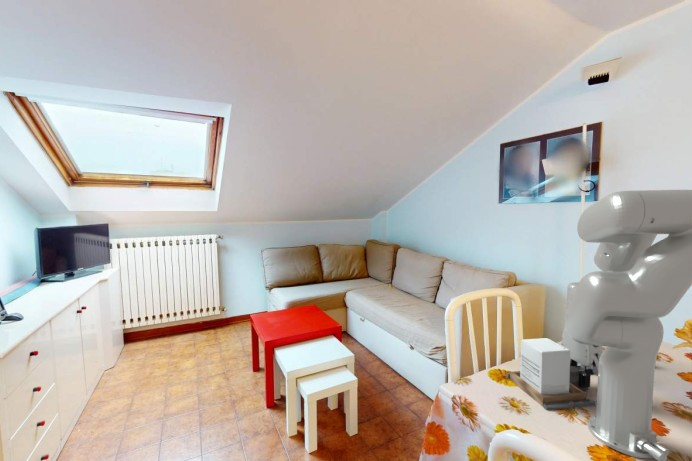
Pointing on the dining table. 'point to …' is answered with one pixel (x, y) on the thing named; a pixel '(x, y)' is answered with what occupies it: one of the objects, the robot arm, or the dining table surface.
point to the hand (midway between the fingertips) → (578, 382)
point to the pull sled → (573, 394)
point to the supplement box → (545, 366)
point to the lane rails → (566, 402)
